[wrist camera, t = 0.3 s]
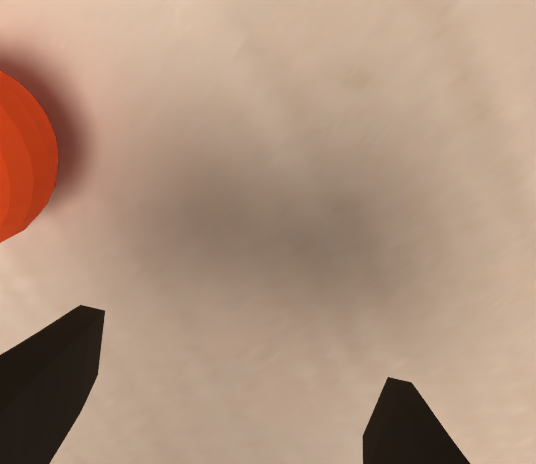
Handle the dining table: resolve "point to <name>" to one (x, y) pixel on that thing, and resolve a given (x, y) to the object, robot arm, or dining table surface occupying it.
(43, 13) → the dining table surface
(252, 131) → the dining table surface
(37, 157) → the clementine
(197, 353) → the dining table surface
